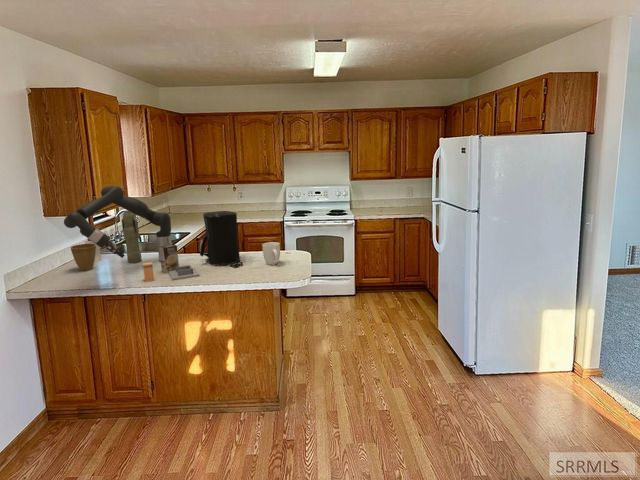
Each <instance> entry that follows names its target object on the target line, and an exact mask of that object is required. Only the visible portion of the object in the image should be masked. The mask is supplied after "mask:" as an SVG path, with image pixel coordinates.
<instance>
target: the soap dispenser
mask: <svg viewBox="0 0 640 480" xmlns="http://www.w3.org/2000/svg"><path fill="white" fill-rule="evenodd" d="M82 236H84V235H82ZM84 237H85V236H84ZM84 244H95V243H93V242H92V241H91V240H89V239H88V238H87V240H85V241H84ZM100 261H102V255H101V247H99V246H98V245H96V252H95V260H94V263H96V262H100Z"/></svg>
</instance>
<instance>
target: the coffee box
mask: <svg viewBox="0 0 640 480" xmlns="http://www.w3.org/2000/svg"><path fill="white" fill-rule="evenodd" d="M159 249H160V258H161V261H160V264H161V272H164V273H165V274H167V273H168V274H169V271H174V270H176V268H175V267H180V262H179V254H178V245H176V244H171V245H166V246H161V247H159Z"/></svg>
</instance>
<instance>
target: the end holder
mask: <svg viewBox="0 0 640 480" xmlns="http://www.w3.org/2000/svg"><path fill="white" fill-rule="evenodd" d="M175 268H176V270H174V271H169V272H168V274H169V277H170V279H171V281H177V280H184V279H189V278H190V279H191V278H198V277H200V273H199V271H198V270H197V269H196V267H192V265H190V264H189V265H183V266H179V267H175Z"/></svg>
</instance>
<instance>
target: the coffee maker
mask: <svg viewBox="0 0 640 480" xmlns="http://www.w3.org/2000/svg"><path fill="white" fill-rule="evenodd" d="M237 215H238V213H237V212H234V211H230V210H229V211H228V210H218V211H209V212H203V215H202V217H203V222H204V228H205V235H204V236H203V237H202V238H201V240H200V244H199V256H201V257H204V256H205V257H207V258H205V262H207V263H208V264H209V265H210V264H211V265H214V266H219V267H221V266H222V267H225V266H229V267H232V268H237V267H240V266H243V265H244V262H243V261H241V259H240V248H239V239H238V219H237ZM206 243H207V244H206ZM206 248H207V252H206V253H205V249H206Z"/></svg>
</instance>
